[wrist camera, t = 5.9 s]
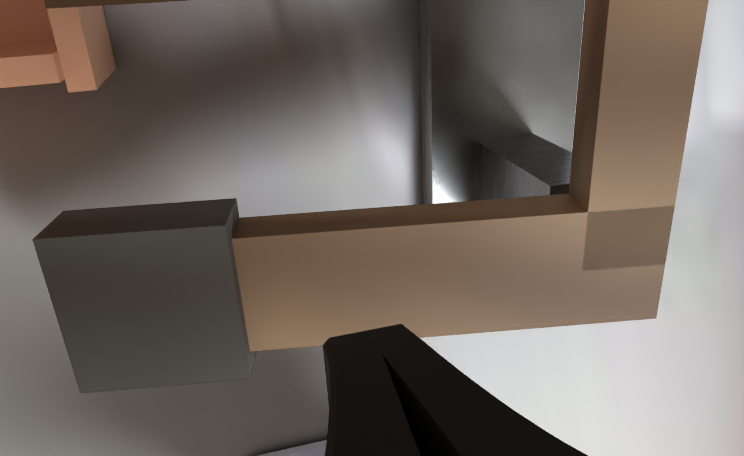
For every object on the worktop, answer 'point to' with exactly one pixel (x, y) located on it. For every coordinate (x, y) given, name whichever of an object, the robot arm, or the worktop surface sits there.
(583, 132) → the wooden tray
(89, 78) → the open box
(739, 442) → the worktop surface
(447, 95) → the stand
